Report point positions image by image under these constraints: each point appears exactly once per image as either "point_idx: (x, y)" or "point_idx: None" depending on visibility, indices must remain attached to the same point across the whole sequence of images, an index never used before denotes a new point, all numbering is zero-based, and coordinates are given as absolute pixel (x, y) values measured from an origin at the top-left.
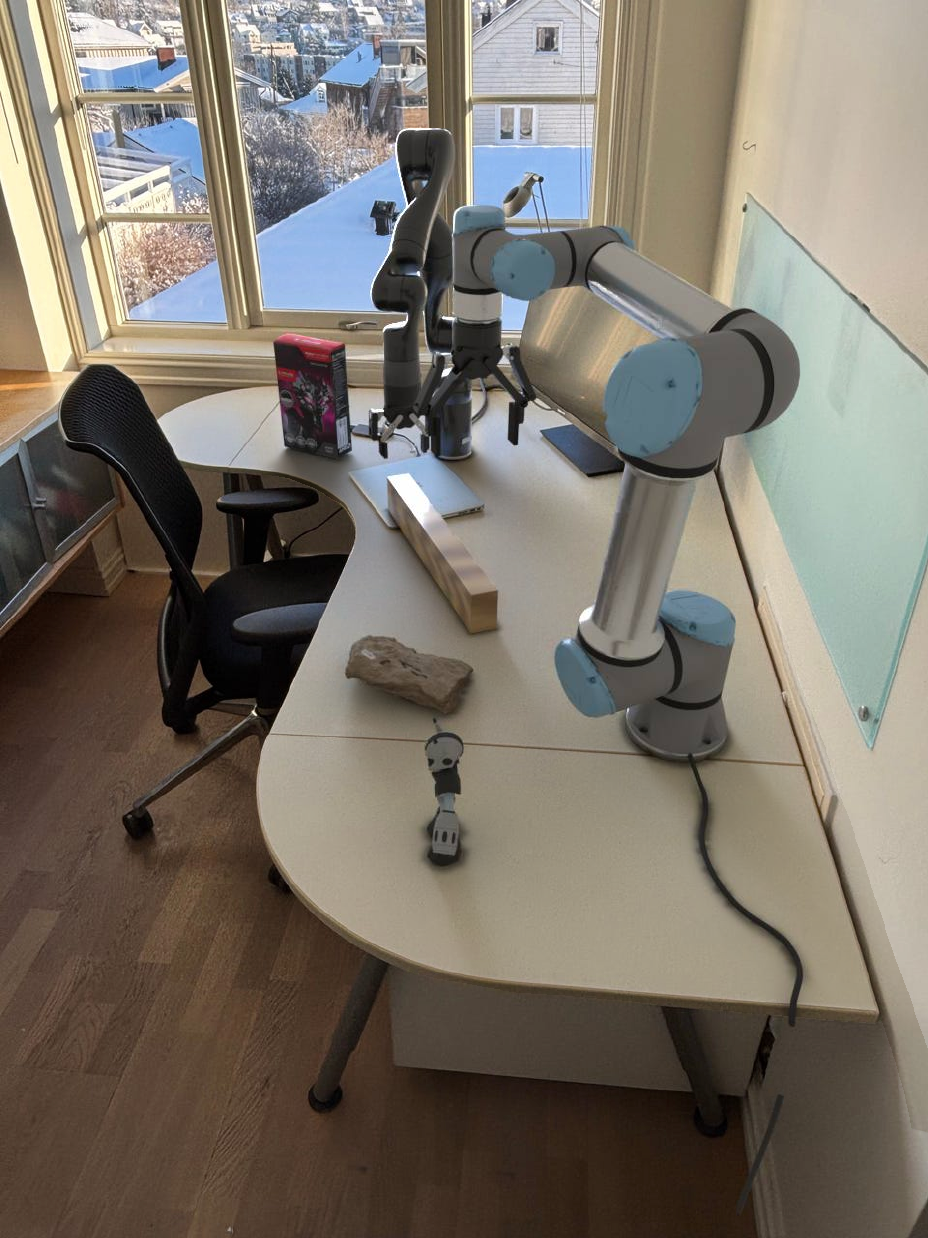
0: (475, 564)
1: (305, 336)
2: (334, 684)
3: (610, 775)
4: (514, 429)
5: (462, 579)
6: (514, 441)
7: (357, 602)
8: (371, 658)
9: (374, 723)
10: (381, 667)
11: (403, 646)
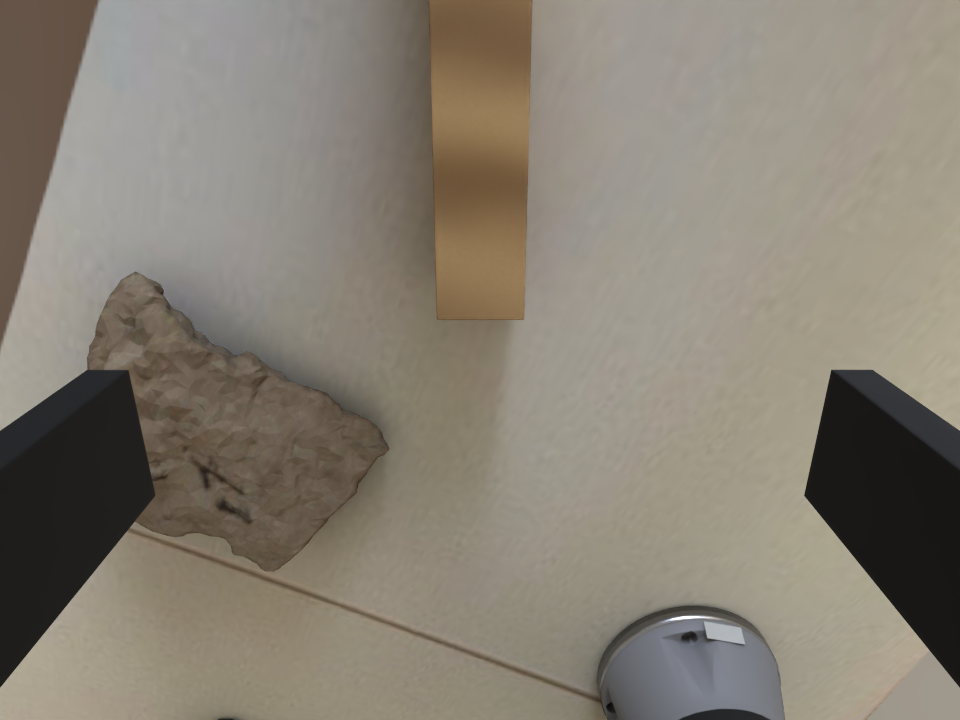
0: (518, 145)
1: None
2: (79, 363)
3: (520, 717)
4: (885, 589)
5: (441, 224)
6: (824, 517)
7: (163, 5)
8: None
9: None
10: None
11: (226, 380)
